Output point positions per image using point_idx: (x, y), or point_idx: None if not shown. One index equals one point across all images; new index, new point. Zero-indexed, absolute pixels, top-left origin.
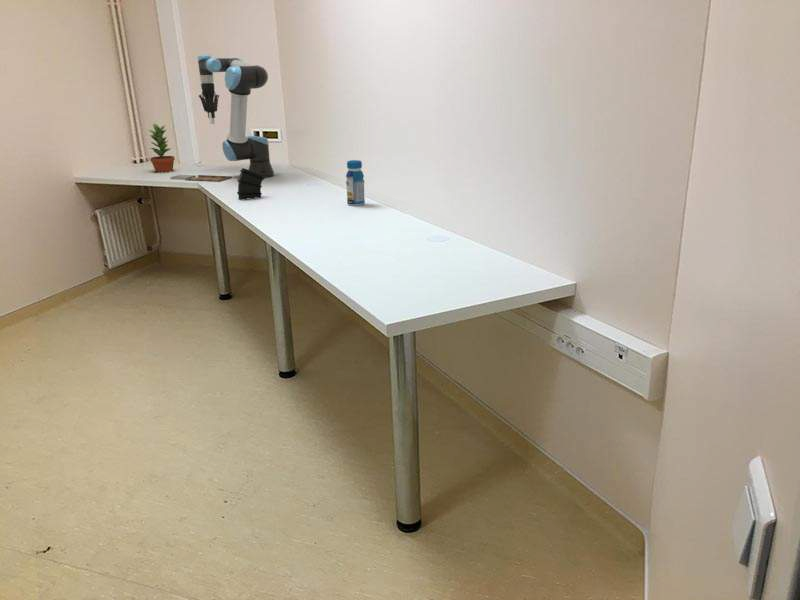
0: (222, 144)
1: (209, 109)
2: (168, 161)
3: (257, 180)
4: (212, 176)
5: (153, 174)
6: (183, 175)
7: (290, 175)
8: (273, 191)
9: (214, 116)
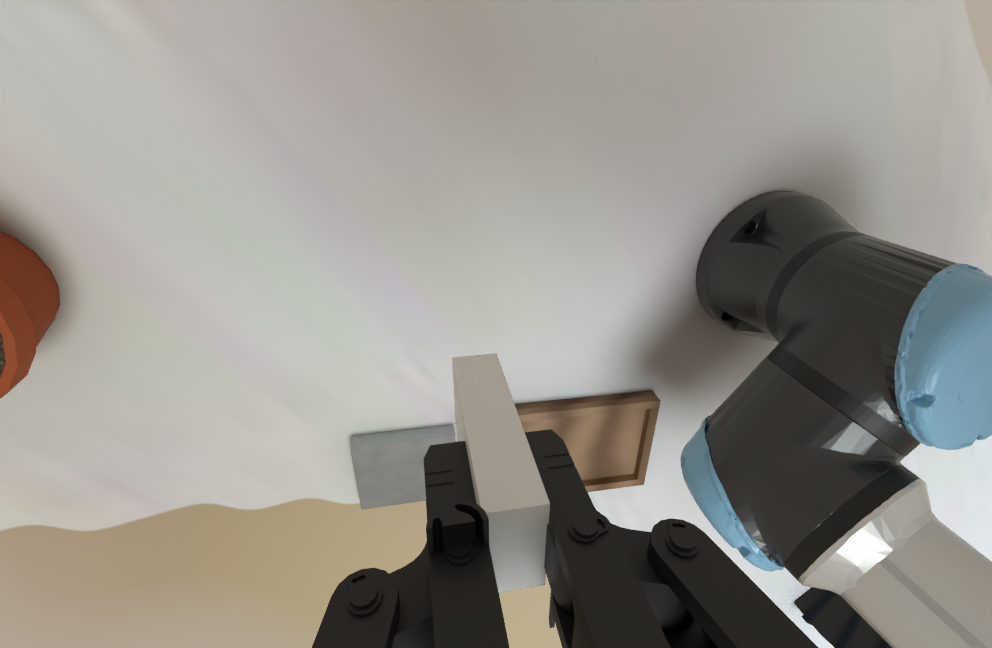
0: (720, 534)
1: (467, 619)
2: (34, 349)
3: None
4: (551, 416)
5: (48, 395)
6: (388, 455)
7: (912, 205)
8: None
9: (565, 458)
